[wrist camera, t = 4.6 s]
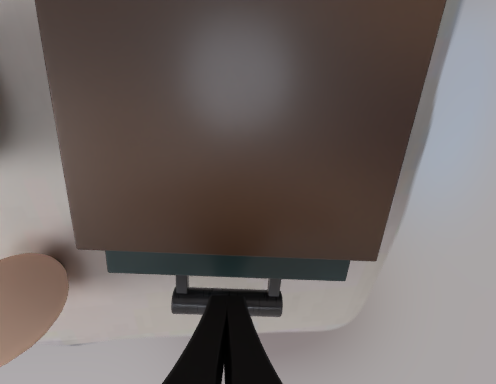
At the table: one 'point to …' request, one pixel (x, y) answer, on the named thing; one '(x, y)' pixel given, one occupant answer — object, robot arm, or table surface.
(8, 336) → the egg
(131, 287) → the table surface
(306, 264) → the drawer
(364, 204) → the cabinet
